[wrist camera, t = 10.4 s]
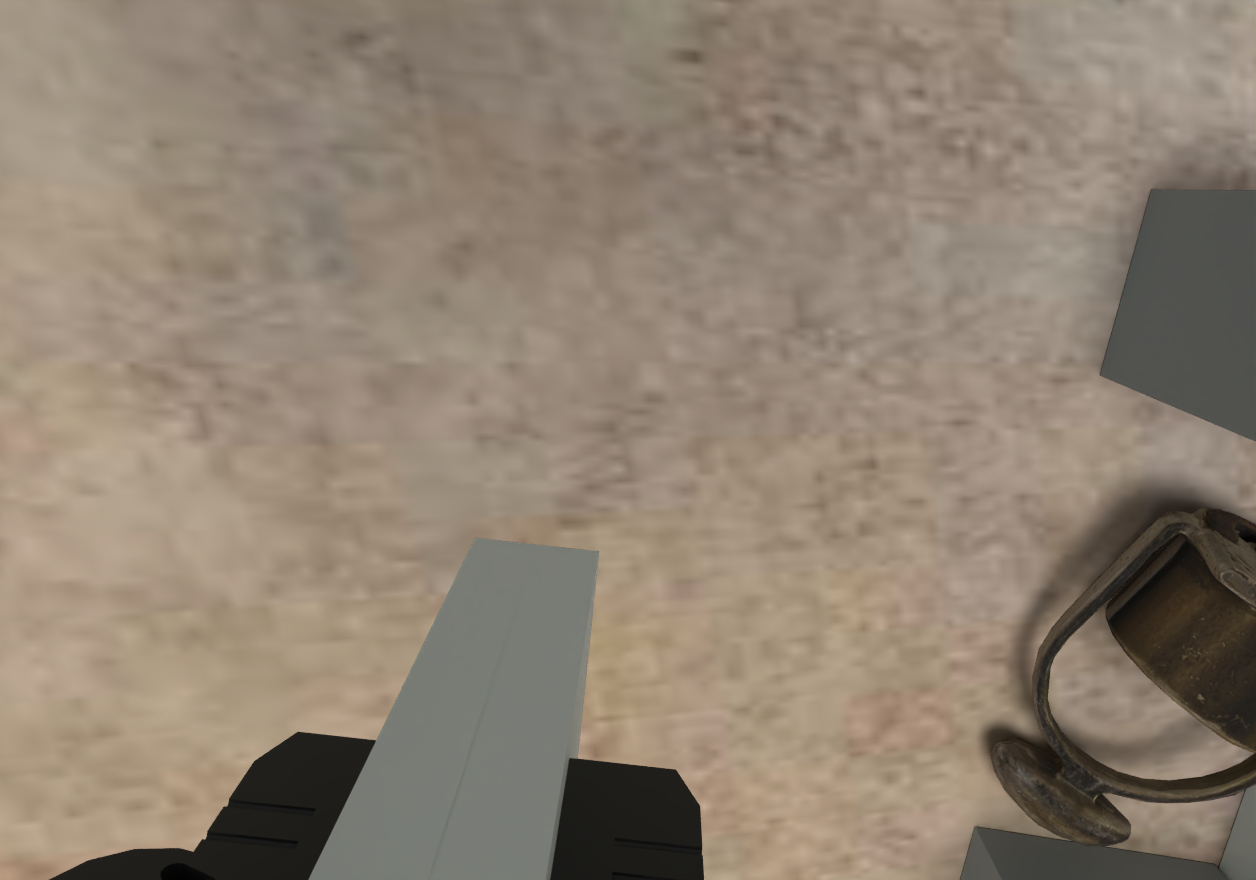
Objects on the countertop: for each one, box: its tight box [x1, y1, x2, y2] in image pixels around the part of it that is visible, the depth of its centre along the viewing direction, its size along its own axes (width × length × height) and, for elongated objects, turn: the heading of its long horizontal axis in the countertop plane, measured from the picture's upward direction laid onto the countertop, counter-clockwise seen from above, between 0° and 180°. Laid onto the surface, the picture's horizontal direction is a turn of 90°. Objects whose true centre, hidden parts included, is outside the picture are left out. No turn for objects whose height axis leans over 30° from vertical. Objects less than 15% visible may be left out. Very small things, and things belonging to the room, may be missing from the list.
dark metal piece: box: [991, 508, 1256, 846], centre depth 34 cm, size 7×13×10 cm
